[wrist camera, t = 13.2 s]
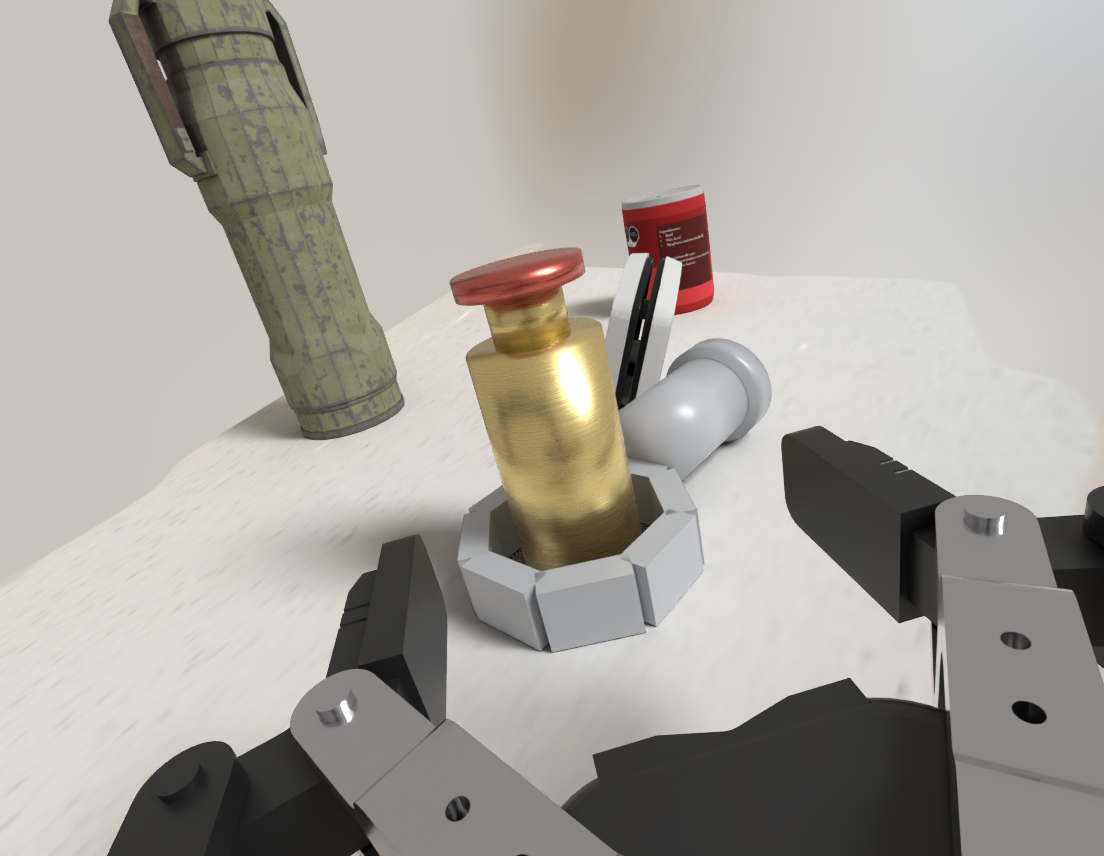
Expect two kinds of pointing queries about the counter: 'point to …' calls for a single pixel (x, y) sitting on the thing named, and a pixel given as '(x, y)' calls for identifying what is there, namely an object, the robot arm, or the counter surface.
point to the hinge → (628, 322)
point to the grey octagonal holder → (662, 501)
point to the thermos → (265, 194)
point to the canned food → (674, 239)
